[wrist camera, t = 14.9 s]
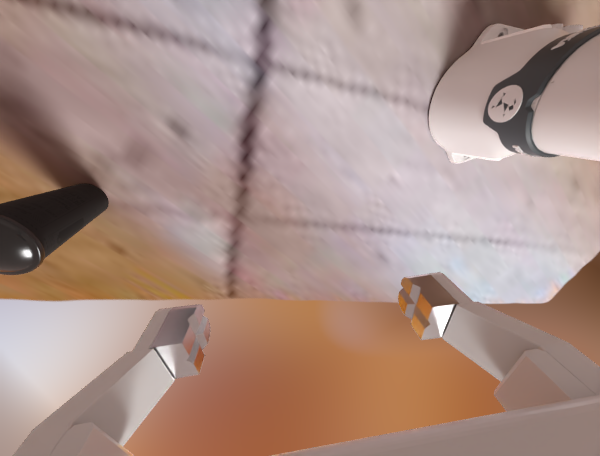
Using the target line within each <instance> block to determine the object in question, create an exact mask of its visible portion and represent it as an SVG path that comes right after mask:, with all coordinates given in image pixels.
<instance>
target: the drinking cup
mask: <svg viewBox="0 0 600 456" xmlns="http://www.w3.org/2000/svg"><path fill="white" fill-rule="evenodd" d="M107 207H108V198H107V196H106V195H105V194H104V192H102V191H101V190H100V189H99V188H97V187H95V186H93V185H90V184H78V185H74V186H70V187H66V188H62V189H58V190H54V191H50V192H46V193H42V194H38V195H34V196H30V197H26V198H22V199H18V200H14V201H10V202H6V203H2V204H0V274H4V275H19V274H24V273H28V272H31V271H33V270H34V269H36V268H37V267H39V266H40V265H41V264H42V262H43V260H44V258H46V257H47V256H48V255H49V254H51V253H52V252H53V251H54V250H56V249H57V248H58V247H59V246H61V245H62V244H63V243H64V242H66V241H67V240H68V239H69V238H71V237H72V236H73V235H74V234H76V233H77V232H78V231H79V230H81V229H82V228H83V227H84V226H86V225H87V224H88V223H89V222H91V221H92V220H93V219H94V218H96V217H97V216H98V215H100V214H101V213H102V212H103V211H105V210H106V209H107Z"/></svg>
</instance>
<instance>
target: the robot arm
mask: <svg viewBox="0 0 600 456" xmlns="http://www.w3.org/2000/svg"><path fill="white" fill-rule="evenodd" d="M563 25H564V24H553V25H551V24H546V25H541V26H538V27H534V28H530V29H526V30H524V29H520V28H516V27H512V26H508V25H504V24H500V23H497V24H493V25H490V26H488V27H487V28H486V29H485V30H484V31H483V32H482V33H481V35H480V36H479V38H478V39H477V40H476V42H475V43H474V45H473V46H472V48H471V49H470V50H469V51H467V52H466V53H465V54H464V55H463V56H461V57H460V58H459V59H458V60H457V61H456V62H455V63H454V64H453V65H452V66H451V67H450V68H449V69H448V70H447V72H446V73H445V74H444V76H443V77H442V79H441V80H440V82H439V84H438V86H437V88H436V90H435V92H434V95H433V98H432V101H431V105H430V110H429V128H430V132H431V135H432V137H433V139H434V140H435V142H436V143H437V144H438V145H439V146H441V147H442V148H443V149H444V150H445V151H446V153H447V155H448V158H449V160H450V162H452V163H457V164H459V163H462V162H465V161H468V160H472V159H475V158H481V159H487V160H495V161H497V160H501V159H502V158H505V157H509V156H511V155H514V154H516V153H520V154H523V155H526V156H533V157H540V156H541V157H555V156H560V155H562V156H569V157H576V158H582V159H589V160H596V161H600V25H599V26H594V27H590V28H586V29H583V25H570V26H565V27H563ZM582 29H583V30H582ZM498 35H499V37H498ZM401 285H402V287H403V289H402V290H401V291H400V292H399V295H398V302H399V306H400V308H401V310H402V312H403V313H404V315H405V316H407V317H408V318H410V319H411V326H412V327H413V329H414V330H415V332H416V333H417V334H418V336H419V338H420V339H421V340H424V339H433V338H441V337H443V339H444V340H445V341H446V342H448V343H449V344H450V345H452V346H453V347H455V348H456V349H457V350H459V351H460V352H461V353H463V354H464V355H465V356H467V357H468V358H470V359H471V360H472V361H474V362H475V363H476V364H478V365H479V366H480V367H482V368H483V369H485V370H486V371H487V372H489V373H490V374H491V375H493V376H494V377H495V378H497V379H498V380H500V381H501V383H500V384H499V386H498V387H497V388H496V390H495V392H494V396H495V397H496V398H497V399H498V401H499V402H500V403H501V404H502V406H503V407H504V409H505V410H506V411H507V412H503V413H497V414H492V415H486V416H481V417H476V418H470V419H465V420H460V421H454V422H449V423H444V424H438V425H433V426H428V427H422V428H417V429H411V430H406V431H401V432H395V433H390V434H385V435H379V436H374V437H368V438H363V439H358V440H352V441H347V442H342V443H337V444H331V445H326V446H320V447H315V448H309V449H305V450H299V451H293V452H288V453H283V454H277V455H272V456H600V367H599V366H598V365H597V364H595V363H594V362H593V361H592V360H590V359H589V358H587V357H586V356H585V355H584V354H582V353H581V352H580V351H579V350H577V349H576V348H575V347H573V346H572V345H571V344H570V343H568V342H566V341H564V340H561V339H559V338H557V337H555V336H553V335H551V334H548V333H546V332H544V331H542V330H539V329H537V328H535V327H533V326H531V325H528V324H526V323H524V322H522V321H520V320H517V319H515V318H513V317H510V316H508V315H506V314H504V313H502V312H500V311H497V310H495V309H493V308H491V307H488V306H486V305H484V304H482V303H480V302H473V301H472V300H471V299H470V298H469V297H468V296H467V295H466V294H465V293H464V292H462V291H461V290H460V289H459V288H458V287H457V286H456V285H455V284H454V283H453V282H452V281H451V280H449V279H448V278H447V277H446V276H445V275H444V274H442V273H440V272H437V273H430V274H423V275H416V276H409V277H404V278H403V279H402V281H401ZM203 314H204V308H203V306H202V305H190V306H181V307H173V308H165V309H159V310H158V311H156V312H155V314H154V315H153V317H152V319H151V320H150V322H149V324H148V325H147V327H146V329H145V330H144V332H143V334H142V335H141V337H140V339H139V341H138V342H137V344H136V346H135V348H134V349H133V351H131V352H127V353H126V354H125V355H124V356H122V357H121V358H120V359H118V360H117V361H116V362H115V363H114V364H112V365H111V366H110V367H109V368H108V369H106V370H105V371H104V372H103V373H101V374H100V375H99V376H98V377H97V378H96V379H94V380H93V381H92V382H90V383H89V384H88V385H87V386H85V387H84V388H83V389H82V390H81V391H80V392H78V393H77V394H76V395H75V396H73V397H72V398H71V399H70V400H68V401H67V402H66V403H65V404H64V405H62V406H61V407H60V408H59V409H57V410H56V411H55V412H54V413H53V414H51V415H50V416H49V417H48V418H47V419H45V420H44V421H43V422H42V423H40V424H39V425H38V426H37V427H36V428H34V429H33V430H32V431H31V433H30V434H29V435H28V437H27V438H26V439H25V440H24V442H23V443H22V445H21V446H20V447H19V448H18V450H17V451H16V452H15V454H14V455H13V456H134V455H133V454H132V453H130V452H129V451H128V450H127V449H125V448H124V447H123V446H124V444H125V443H126V442H127V441H128V439H129V438H130V437H131V436H132V434H133V433H134V432H135V430H136V429H137V428H138V427H139V425H140V424H141V423H142V422H143V420H144V419H145V418H146V416H147V415H148V414H149V413H150V411H151V410H152V409H153V407H154V406H155V405H156V404H157V402H158V401H159V400H160V399H161V397H162V396H163V395H164V393H165V392H166V391H167V390H168V388H169V387H170V386H171V385H172V383H173V382H174V379H177V378H182V377H188V376H193V375H199V374H200V370H201V367H202V363H203V360H204V356H205V355H204V353H203V351H202V350H203V349H204V347H205V346H206V345H207V344H208V342H209V337H210V323H209V320H208V318H206V317H204V316H203Z"/></svg>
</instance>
